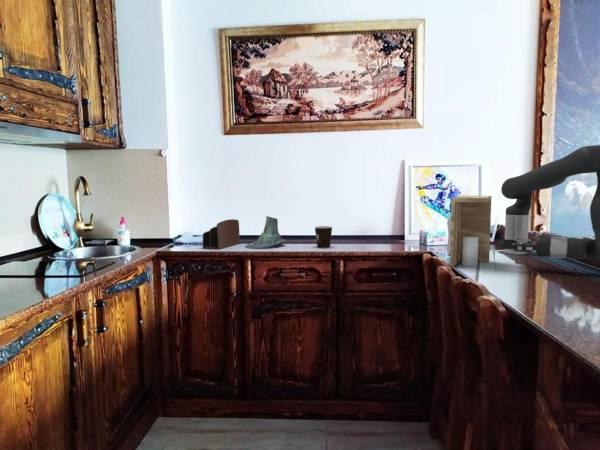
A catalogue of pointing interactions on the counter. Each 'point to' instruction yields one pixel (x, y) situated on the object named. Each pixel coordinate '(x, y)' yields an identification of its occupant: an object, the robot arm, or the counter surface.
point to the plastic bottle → (449, 235)
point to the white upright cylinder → (470, 251)
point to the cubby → (470, 225)
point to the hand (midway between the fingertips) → (501, 243)
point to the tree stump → (268, 236)
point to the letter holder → (222, 235)
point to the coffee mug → (323, 236)
